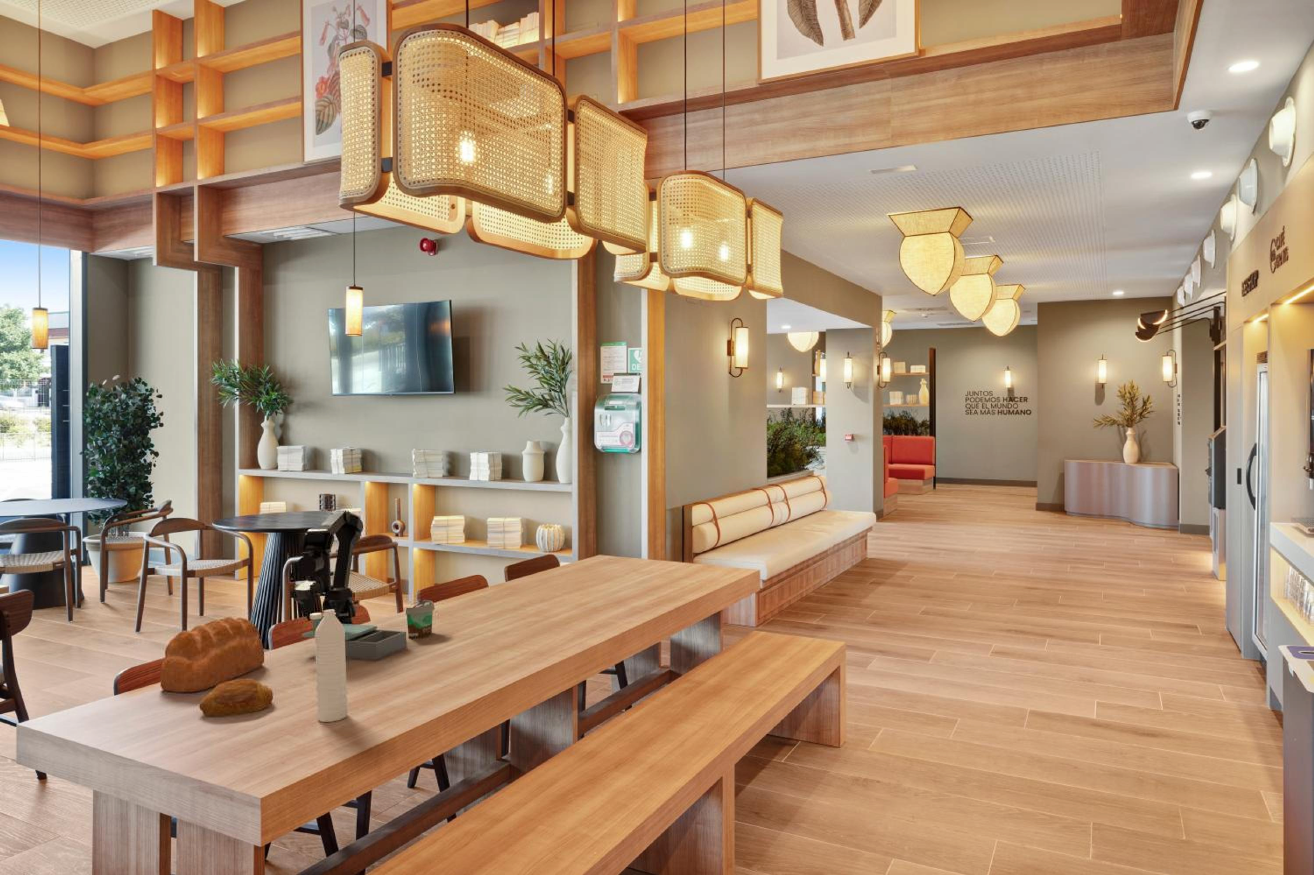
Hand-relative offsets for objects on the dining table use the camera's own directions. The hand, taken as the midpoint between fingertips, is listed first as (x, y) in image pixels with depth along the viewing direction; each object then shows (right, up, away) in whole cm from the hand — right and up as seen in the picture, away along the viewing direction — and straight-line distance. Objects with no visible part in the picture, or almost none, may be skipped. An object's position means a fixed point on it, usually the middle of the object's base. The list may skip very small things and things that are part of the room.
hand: (321, 621), depth 255 cm
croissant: (+1, -10, -52) cm, 53 cm away
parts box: (+16, -8, -5) cm, 19 cm away
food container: (+27, -8, +14) cm, 32 cm away
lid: (+6, -3, -2) cm, 7 cm away
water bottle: (+26, -9, -62) cm, 68 cm away
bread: (-18, -10, -27) cm, 34 cm away
